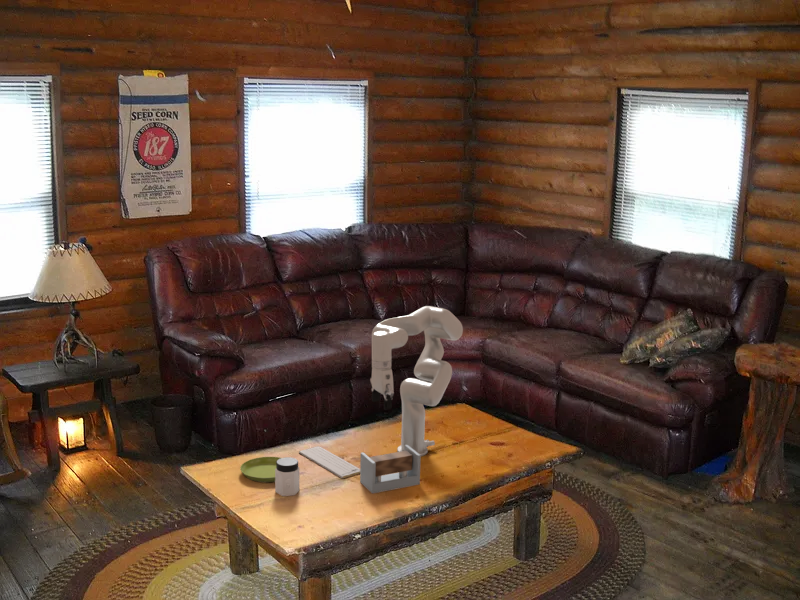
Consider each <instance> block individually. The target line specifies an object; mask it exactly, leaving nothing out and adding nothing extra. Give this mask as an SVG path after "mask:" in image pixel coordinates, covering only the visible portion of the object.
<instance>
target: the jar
mask: <svg viewBox="0 0 800 600" xmlns="http://www.w3.org/2000/svg"><path fill="white" fill-rule="evenodd" d="M274 483H275V486H274V487H275V489H274V490H275V493H277V494H279V496H282V497H289V496H295V495H297V493H298V492H299V491H300V467H299V460H298V459H297V458H295V457H291V456H289V457H280V459H278V460H277V461H276V469H275V481H274Z"/></svg>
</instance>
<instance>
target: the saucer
mask: <svg viewBox="0 0 800 600" xmlns="http://www.w3.org/2000/svg"><path fill="white" fill-rule="evenodd" d="M280 458H281V457H278V456H262V457H261V456H260V457H256V458H252V459H249V460H247V461H245V462H243V463H242V464H241V465H240V468H239V469H240V471H241V473H242V474H243V476H244V477H245V478H247V479H249V480H251V481H254V482H258V483H275V469H276V461H277V460H278V459H280Z"/></svg>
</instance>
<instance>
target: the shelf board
mask: <svg viewBox="0 0 800 600" xmlns="http://www.w3.org/2000/svg"><path fill="white" fill-rule="evenodd" d="M368 457H369V458H371V459H372V460H373V461H374V462H375V463H376V471H375V477H377V476H383V475H388V474H394V473H399V472H403V471H409V470H412V455H411V454H410V453H409V452H408V451H401V452H398V451H397V452H391V453H385V454H380V455H379V454H378V455H373V456H368Z"/></svg>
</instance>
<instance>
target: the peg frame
mask: <svg viewBox="0 0 800 600" xmlns="http://www.w3.org/2000/svg"><path fill="white" fill-rule="evenodd" d="M405 451H408V452H409V453H410V454H411V455H412V470H409V471H403V472H398V473H393V474H387V475H382V476H377V477H375V471H376V463H375V462H374V461H373V460H372V459H371V458H369V457H370V456H368V455H367V454H366V453H365V452H360V465H359V466H360V467H359V469H360V474H359V475H360V476H359V479H360V480H359V483H361V484H362V485H363V487H365V488H366V489H367V490H368V491H369V493H371V494H377V493H381V492H386V491H392V490H398V489H403V488H407V487H414V486H419V485H421V483H420V482H421V460H422V459H421V457H422V456H421V455H420V454H419V453H417V452H416V451H415V450H413V449H412V448H411V447H410V446H408V445H405Z"/></svg>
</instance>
